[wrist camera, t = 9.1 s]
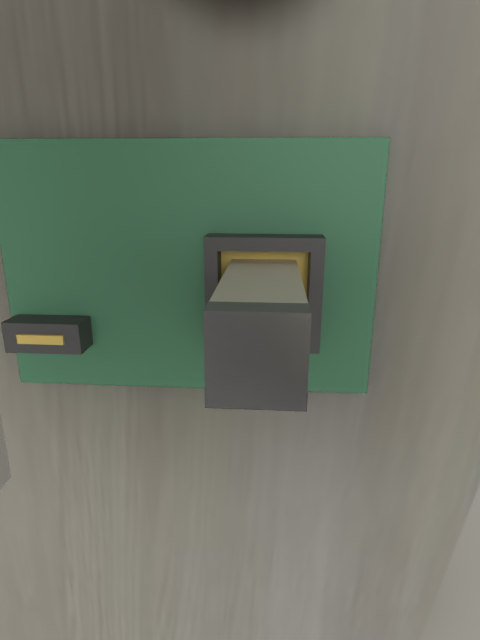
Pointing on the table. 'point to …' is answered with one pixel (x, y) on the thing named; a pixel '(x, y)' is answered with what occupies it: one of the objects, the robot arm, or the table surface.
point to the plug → (257, 337)
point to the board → (182, 249)
